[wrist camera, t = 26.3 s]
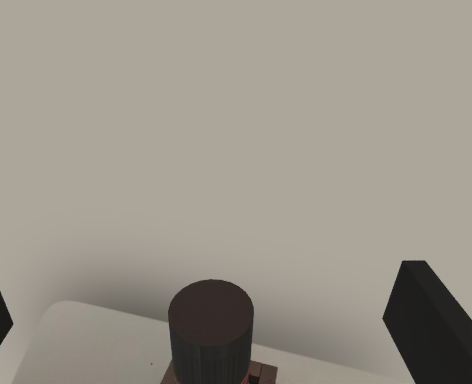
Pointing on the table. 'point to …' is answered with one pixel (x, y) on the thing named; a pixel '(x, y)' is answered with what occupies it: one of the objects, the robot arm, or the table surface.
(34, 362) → the table surface
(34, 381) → the table surface
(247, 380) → the deodorant
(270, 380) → the frame
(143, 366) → the table surface
